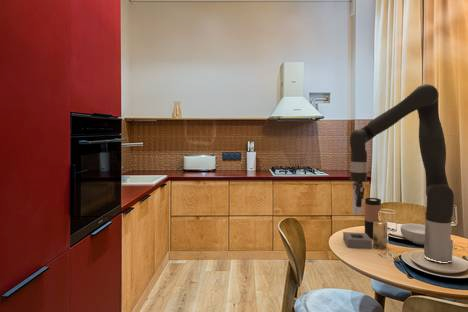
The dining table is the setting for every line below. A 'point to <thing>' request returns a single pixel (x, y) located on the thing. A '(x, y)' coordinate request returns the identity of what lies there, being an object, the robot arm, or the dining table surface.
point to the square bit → (354, 208)
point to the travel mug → (371, 214)
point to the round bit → (380, 234)
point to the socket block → (357, 240)
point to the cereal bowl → (414, 233)
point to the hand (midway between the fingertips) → (357, 205)
